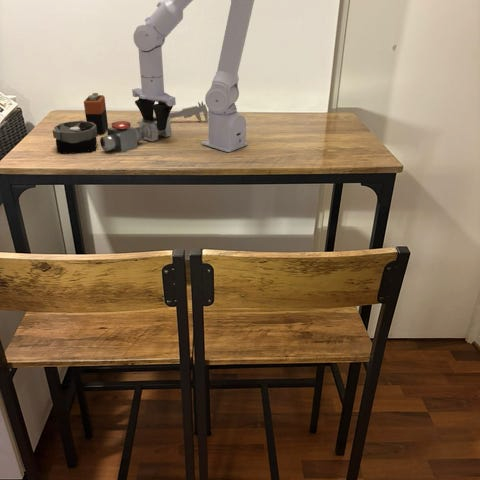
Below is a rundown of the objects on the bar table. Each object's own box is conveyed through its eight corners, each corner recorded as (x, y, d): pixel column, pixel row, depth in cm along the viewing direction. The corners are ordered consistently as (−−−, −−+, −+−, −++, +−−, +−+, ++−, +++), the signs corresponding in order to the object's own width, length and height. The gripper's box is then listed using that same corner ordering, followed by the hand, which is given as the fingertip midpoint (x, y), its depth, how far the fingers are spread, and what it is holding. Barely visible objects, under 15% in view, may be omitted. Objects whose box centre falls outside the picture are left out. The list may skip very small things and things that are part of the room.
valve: (112, 155, 119) (109, 130, 116) (99, 150, 122) (96, 126, 119) (146, 144, 127) (144, 121, 124) (134, 140, 129) (131, 117, 126)
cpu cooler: (96, 119, 127) (95, 131, 118) (99, 140, 129) (98, 153, 121) (54, 121, 124) (50, 133, 116) (58, 142, 127) (54, 156, 119)
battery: (87, 134, 133) (82, 97, 128) (93, 127, 139) (88, 91, 134) (103, 134, 133) (99, 97, 128) (108, 127, 139) (104, 91, 134)
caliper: (207, 122, 146) (207, 100, 143) (207, 123, 145) (207, 101, 142) (137, 123, 144) (135, 101, 141) (137, 124, 143) (135, 102, 140)
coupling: (159, 132, 135) (158, 115, 133) (171, 135, 133) (170, 118, 130) (140, 138, 130) (138, 121, 128) (152, 141, 128) (150, 124, 126)
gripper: (121, 73, 125) (126, 125, 132) (159, 82, 117) (162, 137, 124) (142, 69, 130) (146, 120, 137) (180, 78, 122) (182, 131, 129)
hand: (155, 128), depth 131 cm, fingers closed on coupling, 4 cm apart
